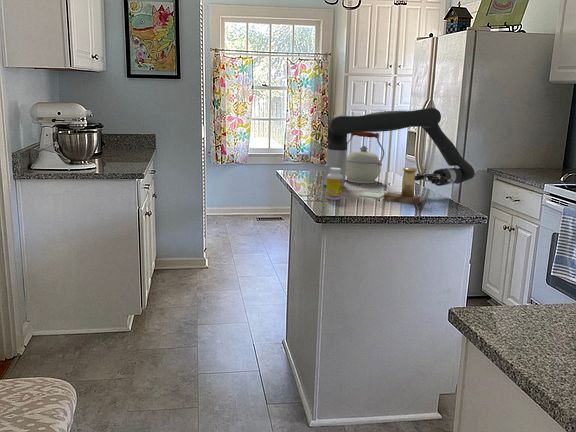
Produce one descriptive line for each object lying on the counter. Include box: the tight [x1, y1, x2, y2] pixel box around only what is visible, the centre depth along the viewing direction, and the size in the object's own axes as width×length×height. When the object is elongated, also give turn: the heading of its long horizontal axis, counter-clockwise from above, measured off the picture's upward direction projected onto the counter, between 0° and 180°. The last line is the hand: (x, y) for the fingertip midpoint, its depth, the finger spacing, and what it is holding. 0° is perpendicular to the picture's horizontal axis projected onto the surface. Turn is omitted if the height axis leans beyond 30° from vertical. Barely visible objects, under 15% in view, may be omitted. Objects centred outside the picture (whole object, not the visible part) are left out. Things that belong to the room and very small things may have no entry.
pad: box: [358, 191, 386, 200], centre depth 246 cm, size 9×9×1 cm
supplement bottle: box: [325, 168, 343, 201], centre depth 234 cm, size 7×7×13 cm
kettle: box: [345, 132, 385, 184], centre depth 281 cm, size 25×18×25 cm
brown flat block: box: [382, 191, 421, 206], centre depth 238 cm, size 14×7×2 cm, turn 66°
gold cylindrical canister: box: [401, 166, 418, 197], centre depth 236 cm, size 6×6×12 cm
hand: (423, 179), depth 243 cm, fingers open, 8 cm apart
